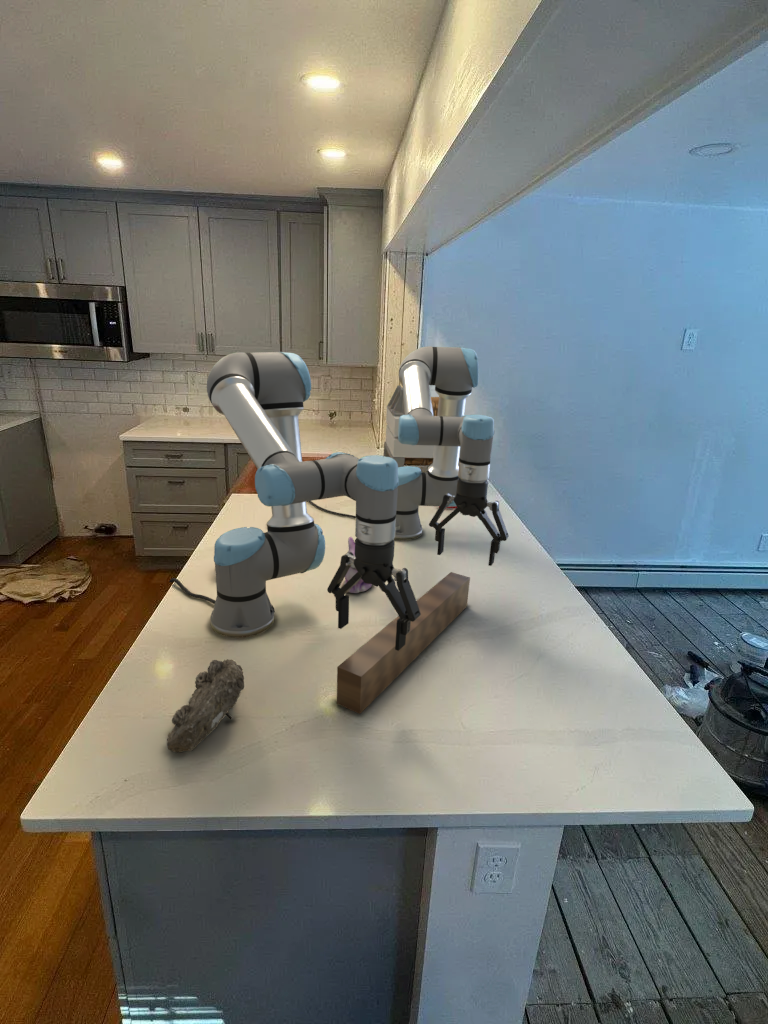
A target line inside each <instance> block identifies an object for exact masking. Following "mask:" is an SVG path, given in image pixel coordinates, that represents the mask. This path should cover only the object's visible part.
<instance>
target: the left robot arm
mask: <svg viewBox="0 0 768 1024" xmlns="http://www.w3.org/2000/svg"><path fill="white" fill-rule="evenodd" d="M311 379H312V378H311V376H310V371H309V368H308V366H307V364H306V362H305V361H304V360H303V358H302V357H301V356H300V355H299V354H297V353H294V352H286V351H283V352H282V351H267V352H266V351H265V352H264V351H263V352H261V351H260V352H259V351H258V352H239V351H238V352H232V353H229V354H227V355H225V356H223V357H222V358H220V359H219V360H218V361H216V363H215V364H214V365H213V366H212V368H211V370H210V371H209V374H208V376H207V380H206V393H207V397H208V399H209V402H210V403H211V405H212V407H213V409H215V411H216V412H217V413H218V414H220V415H222V416H224V417H225V419H226V421H227V423H228V424H229V425H230V427H231V428H232V430H233V432H234V433H235V435H236V437H237V438H238V440H239V442H240V443H241V445H242V447H243V448H244V449H245V452H246V453H247V455H248V456H249V458H250V459H251V461H252V463H253V465H254V466H255V468H256V472H255V474H254V487H255V491H256V494H257V499H258V500H259V501H260V503H261V504H263V505H264V506H265V507H271V517H270V519H269V520H268V521H267V523H266V529H267V531H266V532H264V530H262V529H261V528H260V527H255V526H250V527H247V526H242V527H236V528H233V529H230V530H228V531H225V532H224V533H222V534H221V535H220V536H219V537H218V538H217V539H216V540H215V543H214V547H213V548H214V552H213V553H214V554H213V562H214V572H215V573H214V574H215V585H216V587H215V589H216V598H215V599H213V598H211V597H209V596H206V595H203V594H199V593H198V594H197V593H193V592H191V591H190V590H189V589H188V588H187V587H186V586H184V584H183V583H182V582H181V581H180V580H179V579H178V578H175V577H171V578H170V580H169V581H168V582H169V583H175V584H176V585H177V586H178V587H179V588H180V589H181V590H182V591H183V592H184V593H185V594H186V595H187V596H189V597H192V598H194V599H200V600H205V601H207V602H210V603H211V604H213V605H214V606H213V609H212V612H211V615H210V626H211V627H210V628H211V629H212V630H213V632H215V633H216V634H218V635H219V636H220V635H221V636H223V637H227V638H232V639H233V638H235V639H239V638H249V637H254V636H258V635H259V634H262V633H264V632H266V631H268V630H269V629H270V628H271V627H272V626H273V624H274V622H275V614H276V611H275V607H274V605H273V604H272V603H271V600H270V598H269V595H268V593H267V581H271V580H275V579H280V578H284V577H288V576H293V575H298V574H305V573H307V572H309V571H313V570H316V569H318V568H319V567H320V566H321V564H322V563H323V561H324V558H325V555H326V554H325V553H326V538H325V535H324V531H323V529H322V527H321V526H320V525H319V524H317V523H315V519H314V517H313V516H312V515H310V513H308V507H307V502H308V501H311V502H313V501H317V500H318V501H320V500H326V499H333V498H339V497H348V498H349V499H351V500H353V501H354V502H355V516H356V518H355V532H354V534H355V539H354V542H355V556H353V553H352V552H348V551H347V552H346V553H345V554H343V555H341V557H340V562H339V563H340V564H339V566H338V568H337V570H336V572H335V574H334V576H333V578H332V579H331V581H330V583H329V585H328V587H327V589H326V590H327V593H329V594H333V596H334V598H335V611H336V612H337V629H340V630H342V629H343V628H344V627H346V626H347V625H348V624H349V623H350V622H349V621H350V595H348V594H347V593H349V592H348V591H349V590H350V589H351V588H352V587H353V586H354V585H355V584H356V583H357V582H359V581H360V580H361V579H362V580H363V581H364V583H367V584H372V586H373V587H376V588H377V587H379V589H380V590H381V592H383V593H384V594H385V595H386V597H387V599H388V601H389V602H390V604H391V605H392V607H393V609H394V610H395V612H396V614H397V616H399V617H400V618H399V619H398V620H397V627H396V644H395V650H398V651H399V650H400V649H401V648H402V647H403V646H404V645H405V642H406V635H407V634H408V633H409V632H410V625H411V621H412V622H413V621H415V620H416V619H417V618H418V617H419V616H420V615H421V613H420V610H419V607H418V604H417V602H416V601H417V599H416V596H415V594H414V590H413V588H412V586H411V583H410V580H409V570H408V568H406V567H402V569H401V568H395V567H394V563H393V562H394V557H395V547H396V546H395V545H396V544H395V541H396V540H395V539H394V538H395V526H396V507H397V493H398V484H399V479H398V464H397V462H396V461H395V460H394V459H393V458H390V457H384V455H379V454H370V455H365V456H362V457H360V458H359V457H357V456H355V455H353V454H350V453H347V452H344V451H343V452H342V451H336V452H333V453H331V454H329V455H328V456H327V457H325V458H323V459H315V460H314V459H313V460H305V461H303V453H302V443H301V432H300V422H299V421H300V420H299V415H300V414H301V413H302V411H303V410H304V409H305V408H304V403H305V402H306V401H308V400H309V399H310V396H311V391H312V380H311ZM353 563H354V566H355V568H356V570H357V573H356V574H355V575H354V576H353V577H352V578H351V579H350V580H349V581H348V582H347V583H346V584H344V583H343V585H342V586H341V584H342V582H343V581H344V579H345V576H346V574H347V572H348V570H349V568H350V567H351V565H352V564H353ZM393 577H394V578H393ZM386 583H387V584H386ZM340 586H341V587H340Z"/></svg>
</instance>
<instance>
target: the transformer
mask: <svg viewBox="0 0 768 1024" xmlns="http://www.w3.org/2000/svg"><path fill="white" fill-rule="evenodd" d="M431 402H432V409H433V416H437V414H438V403H439V396H431ZM385 414H386V415H385V423H386V428H385V438H384V442H383V456H384V457H390V458H393V459H394V460H395V461H396V462H397V464H398V467H404V466H413V467H429V466H430V465H431V464H432V463H433V456H434V445H409V444H401V443H400V442H399V440H398V426H399V418H400V416H402V415H405V409H404V394H403V386H402V385H399V384H398V385H397V386H396V388H395V390H394V392H393V394H392V395H391V398H390V400H389V402H388V404H387V405H386V413H385ZM459 459H460V453H459ZM458 466H459V461H458Z"/></svg>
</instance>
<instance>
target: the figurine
mask: <svg viewBox="0 0 768 1024" xmlns="http://www.w3.org/2000/svg"><path fill="white" fill-rule="evenodd" d="M347 544H348V545H347V548H348V550H347V553H348V552H352V553H353V556H355V539H354V538H353V537H352V536H349V537H348V539H347ZM356 573H357V570H356V568H355V566H354V563H353V564H352V565H351V567H350V568H349V570H348V572H347V574H346V576H345V577H344V579H345V580H344V583H343V585H344V584H346V583H347V582H348V581H349V580H350V579H351V578H352V577H353V576H354V575H355V574H356ZM372 586H373V585H372V584H367V583H364V581H363V580H362V579H361V580H360V581H359V582H357V583H356V584H355V585H354V586H353V587H352V588H351V589H350V590H349V591H348V592H347V593H351V594H359V593H361V592H366V591H368V590H369V589H370V588H372Z"/></svg>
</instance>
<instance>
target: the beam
mask: <svg viewBox="0 0 768 1024" xmlns="http://www.w3.org/2000/svg"><path fill="white" fill-rule="evenodd" d="M470 581H471V577H470V576H466V575H463V574H460V573H457V572H456V573H455V572H453V571H450V572H449V573H448V574H447V575H445V576H444V577H443V578H442V579H440V580H439V581H438V582H437V583H436V584H434V586H431V588H430V589H428V591H426V592H425V593H424V594H422V595H421V596H420V597H419V598H418V599H416V602H417V604H418V607H419V610H420V613H421V615H420V616H419V617H418V618H417V619H416V620H415V621H413V622H412V621H411V625H410V632H409V633H408V634H407V635H406V642H405V645H404V646H403V647H402V648H401V649H400V650H399V651H398V650H395V644H396V627H397V620H398V619H399V618H400V617H399V615H397V616H395V618H394V619H392V621H390V622H389V623H388V624H387V625H385V626H384V627H383V628H382V629H381V630H380V631H378V632H377V633H376V634H374V636H372V637H371V638H370V639H369V640H367V641H366V642H365V643H364V644H363V645H362V646H360V647H359V648H357V650H356V651H354V652H353V653H352V654H350V656H348V657H347V658H346V659H345V660H344V661H342V662H341V663H340V664H339V665H338V666H337V669H336V704H337V705H339V706H341V707H343V708H346V709H348V710H350V711H352V712H355V713H356V714H358V715H361V714H362V713H363V712H364V711H365V710H366V709H367V708H368V707H369V706H370V705H371V704H372V703H373V702H374V701H375V700H376V699H377V698H378V697H379V696H380V695H381V694H382V693H383V691H385V690H386V688H388V687H389V686H390V685H391V683H393V682H394V680H395V679H397V677H399V676H400V675H401V674H402V672H404V670H406V669H407V667H409V666H410V664H411V663H412V662H413V661H414V660H415V659H416V658H417V657H419V655H420V654H421V653H423V651H424V650H425V649H426V648H427V647H428V646H430V645H431V643H433V642H434V641H435V639H436V638H438V637H439V635H440V634H441V633H442V632H443V631H444V630H445V629H446V628H448V626H449V625H451V623H452V622H453V621H455V619H456V618H457V617H459V615H460V614H461V613H462V612H463V611H464V610H465V609H466V608H467V607H468V603H469V602H468V601H469V592H470V591H469V590H470Z"/></svg>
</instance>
